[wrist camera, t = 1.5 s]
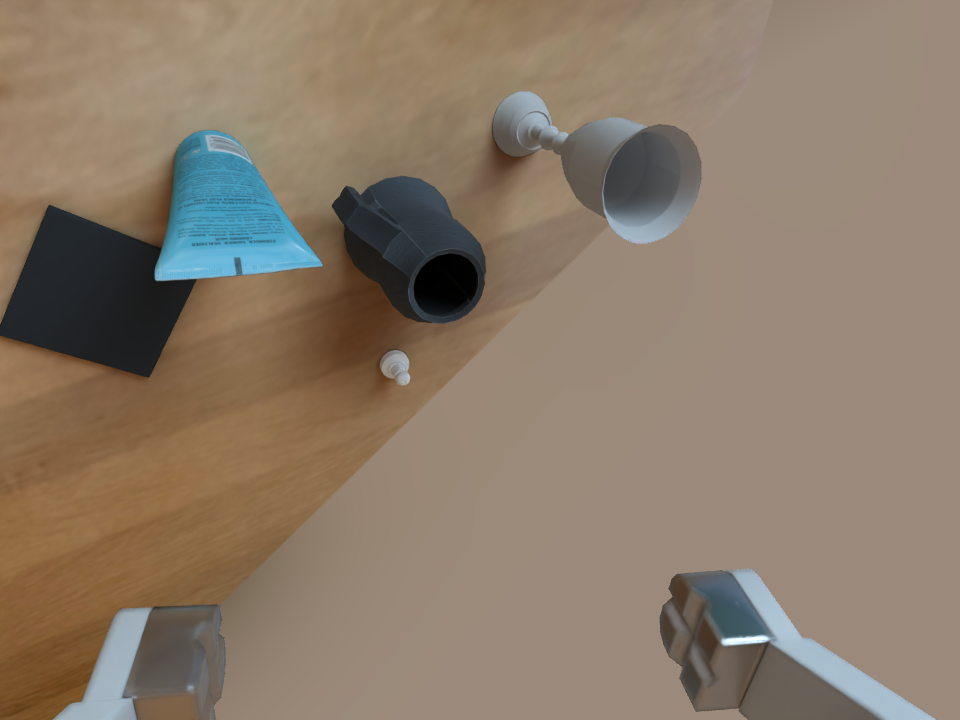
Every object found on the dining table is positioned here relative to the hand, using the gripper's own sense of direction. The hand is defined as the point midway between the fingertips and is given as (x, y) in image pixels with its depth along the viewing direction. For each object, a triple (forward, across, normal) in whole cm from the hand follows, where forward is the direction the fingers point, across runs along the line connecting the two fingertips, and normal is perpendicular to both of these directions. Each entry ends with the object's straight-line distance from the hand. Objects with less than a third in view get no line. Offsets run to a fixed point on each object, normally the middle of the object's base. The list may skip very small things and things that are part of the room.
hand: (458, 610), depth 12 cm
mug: (+44, -1, +6) cm, 45 cm away
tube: (+41, +11, +2) cm, 43 cm away
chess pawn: (+44, -2, +19) cm, 49 cm away
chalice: (+46, -12, -1) cm, 48 cm away
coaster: (+39, +19, +11) cm, 45 cm away
